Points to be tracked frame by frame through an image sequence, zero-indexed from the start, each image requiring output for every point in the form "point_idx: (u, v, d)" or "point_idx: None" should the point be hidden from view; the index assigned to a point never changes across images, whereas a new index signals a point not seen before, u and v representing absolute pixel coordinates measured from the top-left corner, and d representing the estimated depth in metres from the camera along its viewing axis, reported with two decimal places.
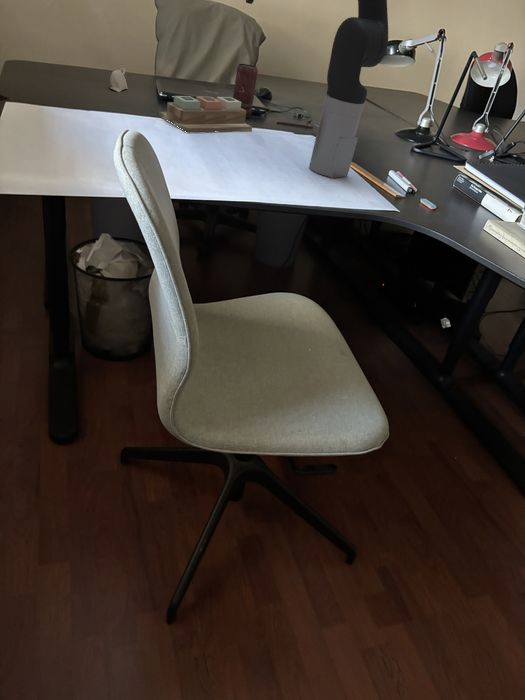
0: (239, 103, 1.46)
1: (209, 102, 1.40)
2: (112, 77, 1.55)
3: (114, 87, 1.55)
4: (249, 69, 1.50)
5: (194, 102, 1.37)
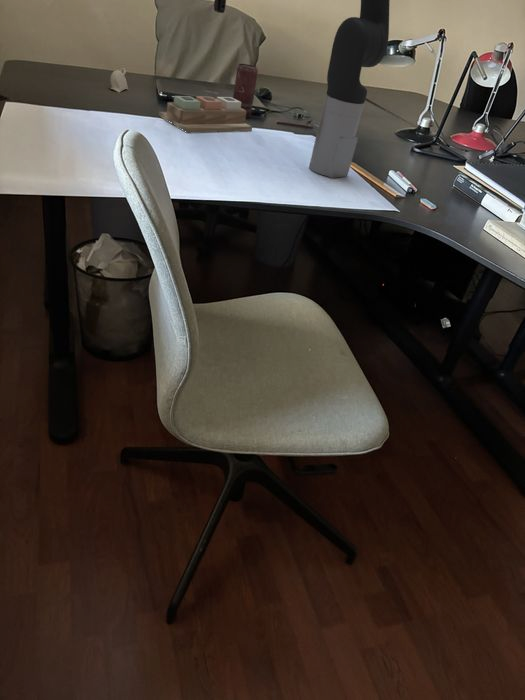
0: (239, 103, 1.46)
1: (209, 102, 1.40)
2: (112, 77, 1.54)
3: (114, 87, 1.55)
4: (249, 69, 1.50)
5: (194, 102, 1.37)
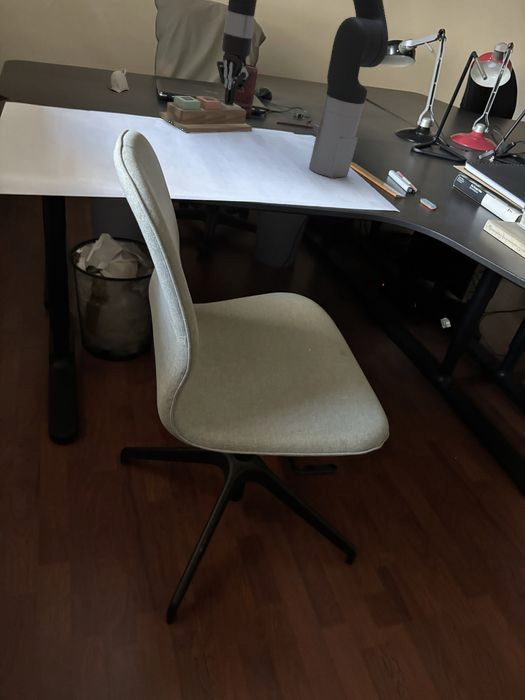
0: (238, 108, 1.47)
1: (209, 102, 1.40)
2: (112, 77, 1.54)
3: (114, 87, 1.55)
4: (249, 69, 1.50)
5: (194, 102, 1.37)
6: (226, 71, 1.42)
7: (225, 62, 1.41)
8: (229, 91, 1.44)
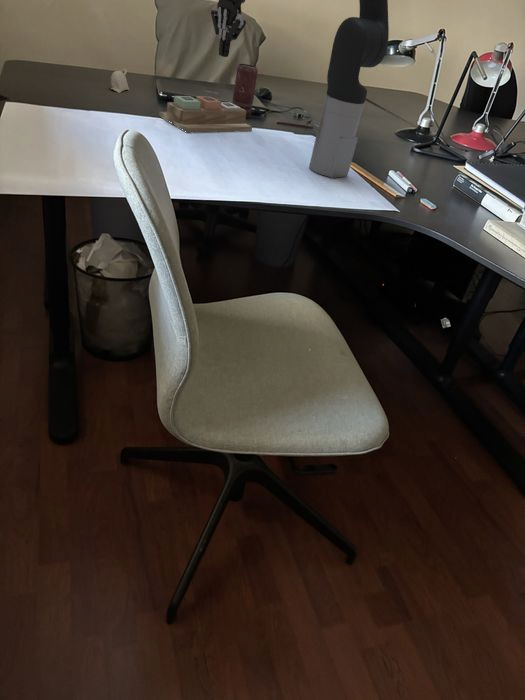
0: (238, 108, 1.47)
1: (209, 102, 1.40)
2: (112, 78, 1.54)
3: (114, 88, 1.55)
4: (249, 69, 1.50)
5: (194, 102, 1.37)
6: (220, 20, 1.33)
7: (219, 10, 1.31)
8: (223, 42, 1.35)
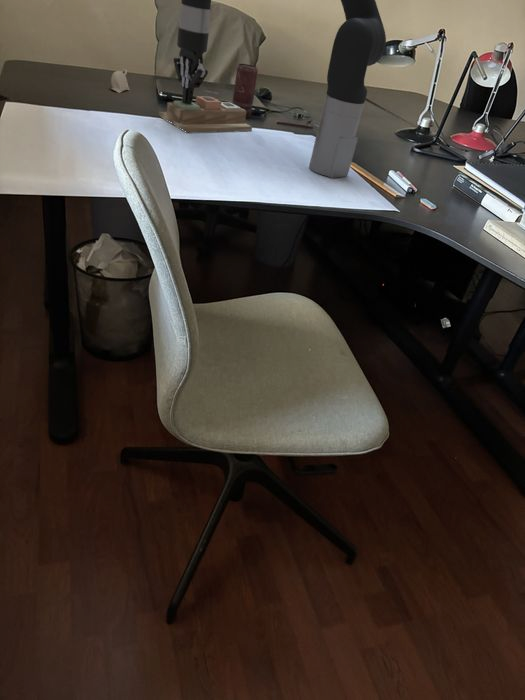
0: (238, 108, 1.47)
1: (209, 102, 1.40)
2: (112, 78, 1.54)
3: (115, 88, 1.55)
4: (249, 69, 1.50)
5: (194, 107, 1.38)
6: (182, 68, 1.33)
7: (181, 59, 1.32)
8: (186, 90, 1.36)
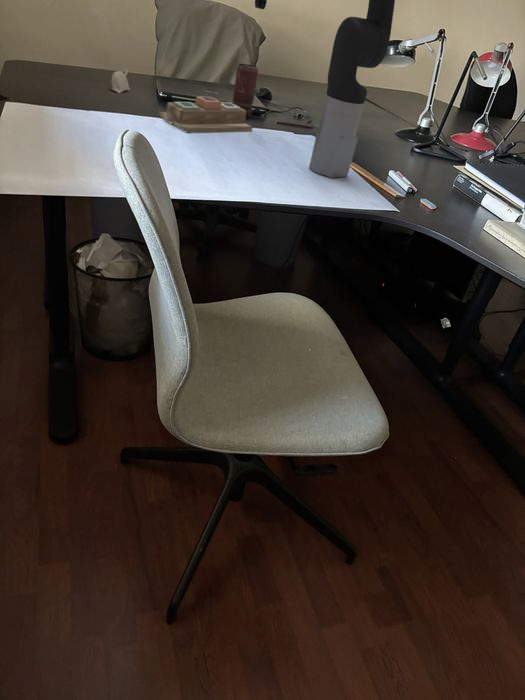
0: (238, 108, 1.47)
1: (209, 102, 1.40)
2: (113, 78, 1.54)
3: (115, 88, 1.55)
4: (249, 69, 1.50)
5: (193, 108, 1.38)
6: None
7: None
8: None
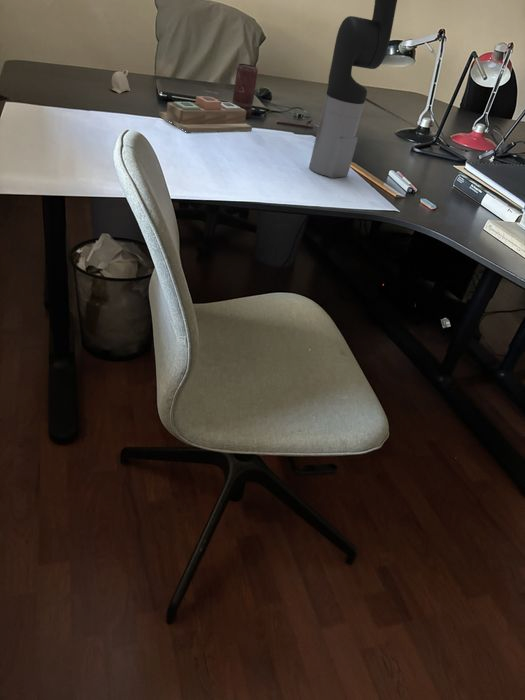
0: (238, 108, 1.47)
1: (209, 102, 1.40)
2: (113, 78, 1.54)
3: (115, 88, 1.55)
4: (249, 69, 1.50)
5: (193, 108, 1.38)
6: None
7: None
8: None
